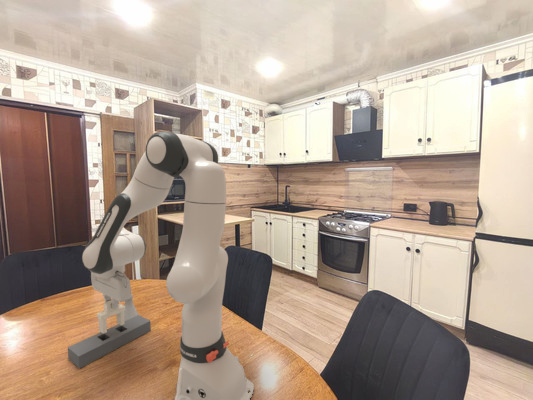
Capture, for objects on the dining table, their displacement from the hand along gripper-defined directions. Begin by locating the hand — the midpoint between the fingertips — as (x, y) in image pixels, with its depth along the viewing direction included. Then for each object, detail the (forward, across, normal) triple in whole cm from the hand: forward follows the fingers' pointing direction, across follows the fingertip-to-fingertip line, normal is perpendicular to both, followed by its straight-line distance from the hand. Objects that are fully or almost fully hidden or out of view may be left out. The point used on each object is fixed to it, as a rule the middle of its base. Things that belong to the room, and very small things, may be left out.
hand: (111, 306), depth 89 cm
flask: (+14, +11, -12) cm, 21 cm away
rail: (+14, 0, 0) cm, 14 cm away
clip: (+8, 0, 0) cm, 8 cm away
